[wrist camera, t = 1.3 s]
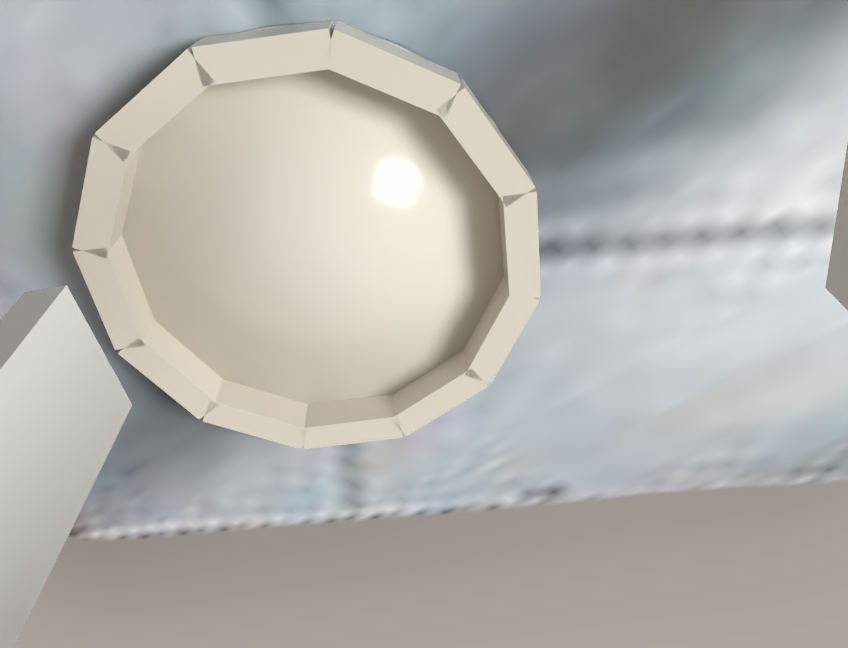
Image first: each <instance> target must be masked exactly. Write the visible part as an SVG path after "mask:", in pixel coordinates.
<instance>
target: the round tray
mask: <svg viewBox="0 0 848 648" xmlns="http://www.w3.org/2000/svg"><path fill="white" fill-rule="evenodd" d="M95 134H96V135H95V136H93V137H92V141H91V147H90V152H89V157H88V163H87V168H86V174H85V179H84V185H83V190H82V196H81V201H80V206H79V212H78V217H77V223H76V228H75V234H74V239H73V245H72V248H75V250H74V251H73V254H74V256H75V259H76V261H77V263H78V266H79V268H80V270H81V273H82V275H83V277H84V280H85V282H86V284H87V286H88V289H89V291H90V293H91V296H92V298H93V300H94V303H95V305H96V307H97V310H98V312H99V314H100V317H101V319H102V321H103V324H104V326H105V328H106V330H107V333H108V335H109V337H110V340H111V342H112V344H113V347H114V349H115V350H119V349H120V350H119V352H118V354H119V355H120V356H121V357H123V358H124V359H125V360H126V361H128V362H129V363H130V364H131V365H132V366H134V367H135V368H136V369H137V370H139V371H140V372H141V373H142V374H144V375H145V376H146V377H147V378H148V379H150V380H151V381H152V382H153V383H155V384H156V385H157V386H158V387H160V388H161V389H162V390H163V391H164V392H166V393H167V394H168V395H169V396H171V397H172V398H173V399H174V400H175V401H177V402H178V403H179V404H180V405H182V406H183V407H184V408H185V409H187V410H188V411H189V412H190V413H191V414H193V415H194V416H195V417H196V418H198V419H200V418H202V417H203V416H204V419H203V422H206V423H210V424H214V425H217V426H221V427H224V428H228V429H231V430H235V431H238V432H242V433H246V434H249V435H253V436H256V437H260V438H263V439H267V440H271V441H274V442H278V443H281V444H285V445H288V446H292V447H296V448H299V449H301V447H302V445H303V444H304V448H305V449H312V448H320V447H328V446H337V445H345V444H353V443H362V442H370V441H378V440H387V439H395V438H403V434H404V435H405V436H408V435H409V434H411V433H413V432H414V431H416V430H418V429H419V428H421V427H423V426H424V425H426V424H427V423H429V422H431V421H432V420H434V419H436V418H437V417H439V416H441V415H442V414H444V413H446V412H447V411H449V410H451V409H452V408H454V407H456V406H457V405H459V404H460V403H462V402H464V401H465V400H467V399H469V398H470V397H472V396H474V395H475V394H477V393H479V392H480V391H482V390H484V389H485V388H487V387H488V383H489V384H491V383H492V381H493V380H494V378H495V376H496V374H497V373H498V371H499V369H500V368H501V366H502V364H503V362H504V361H505V359H506V357H507V356H508V354H509V352H510V350H511V349H512V347H513V345H514V344H515V342H516V340H517V339H518V337H519V335H520V333H521V332H522V330H523V328H524V327H525V325H526V323H527V321H528V320H529V318H530V316H531V315H532V313H533V311H534V309H535V308H536V306H537V304H538V303H539V301H540V300H539V297H541V292H540V265H539V238H538V211H537V191H536V189H535V186H534V184H533V182H532V179H531V177H530V175H529V173H528V171H527V170H526V168H525V167H524V166H523V164H522V163H521V161H520V160H519V158H518V157H517V156H516V154H515V153H514V151H513V150H512V148H511V147H510V146H509V144H508V143H507V141H506V140H505V139H504V137H503V136H502V134H501V133H500V131H499V129H498V128H497V126H496V124H495V123H494V121H493V120H492V118H491V117H490V116H489V115H488V113H487V112H486V111H485V110H484V109H483V107H482V106H481V104H480V103H479V101H478V100H477V99H476V97H475V96H474V94H473V93H472V91H471V90H470V89H469V87H468V86H467V84H466V83H465V81H464V80H463V79H462V77H461V76H460V77H459V78H458V75H457V73H456V72H454V71H451V70H449V69H447V68H444V67H442V66H440V65H438V64H435V63H433V62H431V61H429V60H428V59H427V58H425V57H423V56H421V55H419V54H417V53H415V52H413V51H411V50H409V49H407V48H406V47H404V46H402V45H400V44H398V43H395V42H392V41H389V40H387V39H384V38H381V37H378V36H376V35H373V34H370V33H367V32H362V31H360V30H358V29H356V28H353V27H351V26H349V25H346V24H344V23H342V22H340V21H337V23H336V26H333V22H332V20H327V21H320V22H313V23H300V24H285V25H270V26H265V27H261V28H256V29H251V30H246V31H242V32H238V33H233V34H226V35H218V36H211V37H204V38H202V39H201V40H197V41H196V42H195V43H194V44H192V45H191V46H190V47H189V48H187V49H186V50H185V51H184V52H183V53H182V54H181V55H180V56H179V57H177V58H176V59H175V60H174V61H173V62H172V63H171V64H170V65H169V66H168V67H167V68H165V69H164V70H163V71H162V72H161V73H160V74H159V75H158V76H157V77H156V78H154V79H153V80H152V81H151V82H150V83H149V84H148V85H147V86H146V87H145V88H144V89H142V90H141V91H140V92H139V93H138V94H137V95H136V96H135V97H134V98H133V99H131V100H130V101H129V102H128V103H127V104H126V105H125V106H124V107H123V108H122V109H121V110H119V111H118V112H117V113H116V114H115V115H114V116H113V117H112V118H111V119H110V120H109V121H107V122H106V123H105V124H104V125H103V126H102V127H101V128H100V129H99V130H98V131H96V132H95Z"/></svg>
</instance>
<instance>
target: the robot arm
mask: <svg viewBox="0 0 848 648" xmlns="http://www.w3.org/2000/svg"><path fill="white" fill-rule="evenodd" d="M826 289H827V290H828V291H829V292H830V293H831V294H832V295H833V296H834V297H835V298H836V299H837V300H838V301H839V302H840V303H841V304H842V305H843V306H844V307H845V308H846V309H847V310H848V145H847V152H846V158H845V165H844V171H843V178H842V184H841V191H840V197H839V204H838V210H837V217H836V223H835V230H834V236H833V243H832V249H831V256H830V262H829V269H828V275H827V282H826ZM131 406H132V404H131V402H130V400H129V398H128V396H127V395H126V393H125V391H124V389H123V387H122V385H121V384H120V382H119V380H118V378H117V376H116V374H115V373H114V371H113V369H112V367H111V365H110V363H109V362H108V360H107V358H106V356H105V354H104V352H103V351H102V349H101V347H100V345H99V343H98V342H97V340H96V338H95V336H94V334H93V332H92V331H91V329H90V327H89V325H88V323H87V321H86V320H85V318H84V316H83V314H82V312H81V310H80V309H79V307H78V305H77V303H76V301H75V299H74V298H73V296H72V294H71V292H70V290H69V288H68V287H67V285H63V286H58V287H52V288H47V289H42V290H36V291H31V292H25V293H24V294H23V295H22V297H21V298H20V299H19V300H18V301H17V302H16V304H15V305H14V306H13V307H12V308H11V309H10V310H9V312H8V313H7V314H6V315H5V316H4V317H3V319H2V320H1V321H0V648H14V646H15V643H16V642H17V640H18V637H19V635H20V633H21V631H22V629H23V627H24V625H25V623H26V621H27V619H28V617H29V615H30V613H31V611H32V609H33V607H34V605H35V603H36V601H37V599H38V596H39V595H40V593H41V590H42V588H43V586H44V584H45V582H46V580H47V578H48V576H49V574H50V572H51V570H52V568H53V566H54V564H55V562H56V560H57V558H58V556H59V554H60V551H61V550H62V547H63V546H64V543H65V541H66V539H67V537H68V535H69V533H70V531H71V529H72V527H73V525H74V523H75V521H76V519H77V517H78V515H79V513H80V511H81V509H82V507H83V505H84V503H85V501H86V498H87V496H88V494H89V492H90V490H91V488H92V486H93V484H94V482H95V480H96V478H97V476H98V474H99V472H100V470H101V468H102V466H103V464H104V462H105V460H106V458H107V456H108V453H109V451H110V449H111V447H112V445H113V443H114V441H115V439H116V437H117V435H118V433H119V431H120V429H121V427H122V425H123V423H124V421H125V419H126V417H127V415H128V413H129V411H130V408H131Z"/></svg>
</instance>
